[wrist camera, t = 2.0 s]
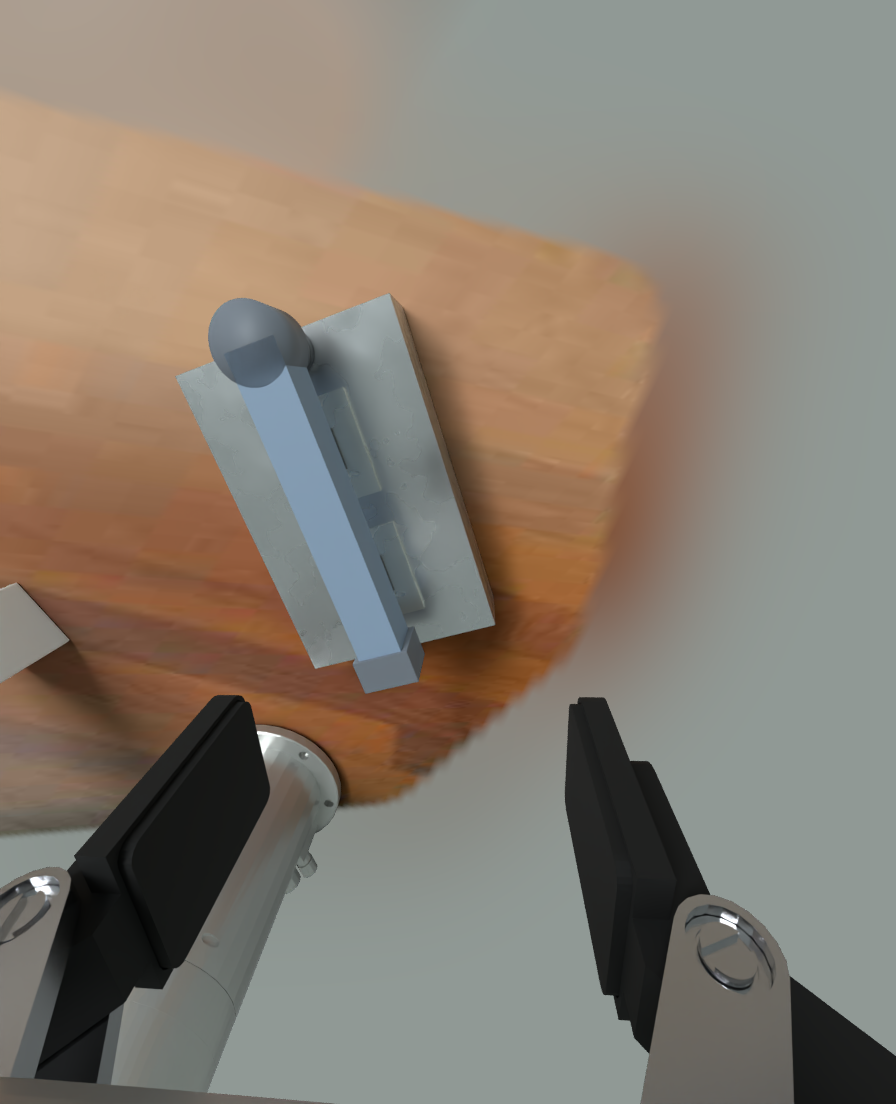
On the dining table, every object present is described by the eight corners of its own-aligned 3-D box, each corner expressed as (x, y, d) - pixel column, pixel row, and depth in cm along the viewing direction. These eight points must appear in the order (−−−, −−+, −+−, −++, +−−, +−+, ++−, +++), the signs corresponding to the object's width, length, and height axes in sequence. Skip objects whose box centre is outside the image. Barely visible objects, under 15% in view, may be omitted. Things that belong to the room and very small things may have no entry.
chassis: (493, 598, 33) (496, 642, 27) (333, 638, 35) (303, 688, 29) (401, 302, 27) (378, 279, 21) (213, 374, 29) (146, 371, 23)
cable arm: (226, 323, 22) (191, 314, 19) (292, 297, 21) (265, 284, 19) (373, 665, 28) (362, 694, 26) (427, 652, 28) (421, 680, 25)
